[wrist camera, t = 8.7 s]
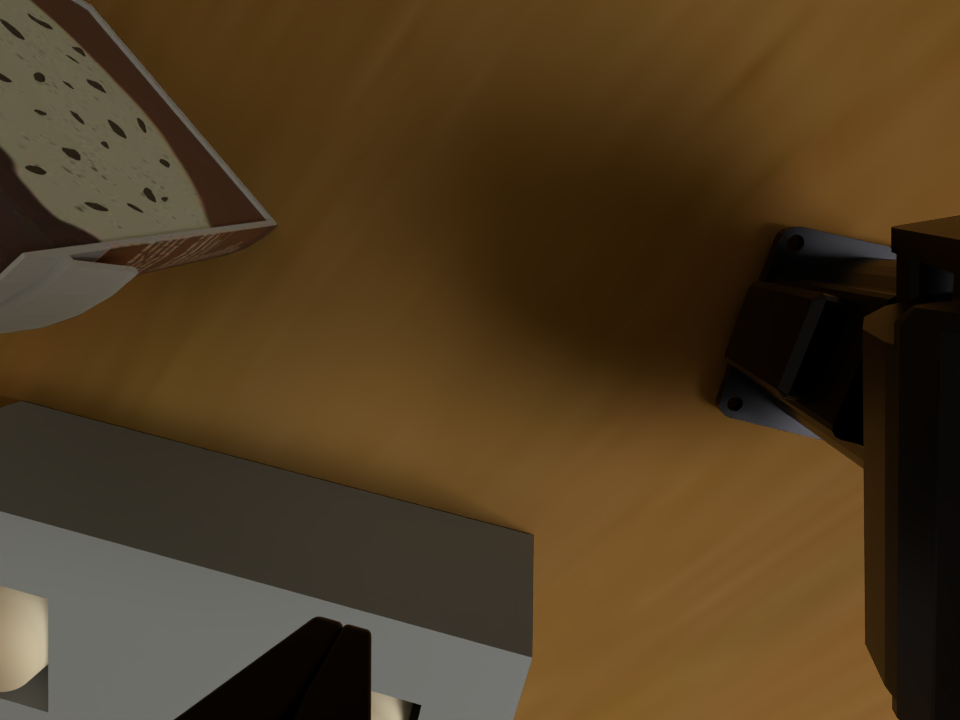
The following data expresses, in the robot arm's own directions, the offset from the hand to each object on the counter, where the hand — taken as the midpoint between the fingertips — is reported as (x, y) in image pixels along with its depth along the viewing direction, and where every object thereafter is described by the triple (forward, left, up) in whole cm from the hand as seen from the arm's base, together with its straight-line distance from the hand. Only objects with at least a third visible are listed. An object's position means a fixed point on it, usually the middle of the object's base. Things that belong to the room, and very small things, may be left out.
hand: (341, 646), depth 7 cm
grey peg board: (+7, +10, -12) cm, 17 cm away
